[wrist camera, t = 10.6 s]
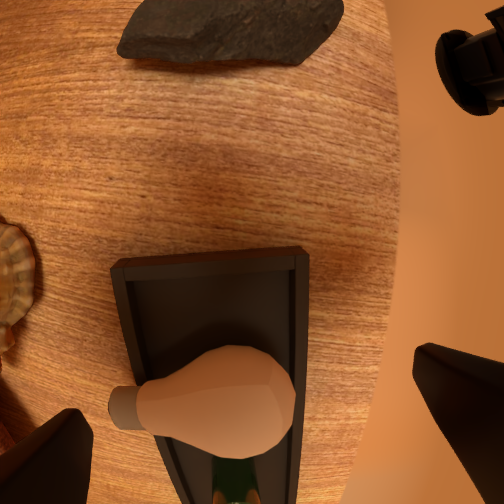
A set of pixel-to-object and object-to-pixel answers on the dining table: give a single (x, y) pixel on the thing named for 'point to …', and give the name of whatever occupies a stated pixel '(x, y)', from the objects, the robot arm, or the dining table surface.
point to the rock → (229, 30)
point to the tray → (219, 341)
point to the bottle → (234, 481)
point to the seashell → (14, 281)
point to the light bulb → (213, 403)
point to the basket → (5, 439)
